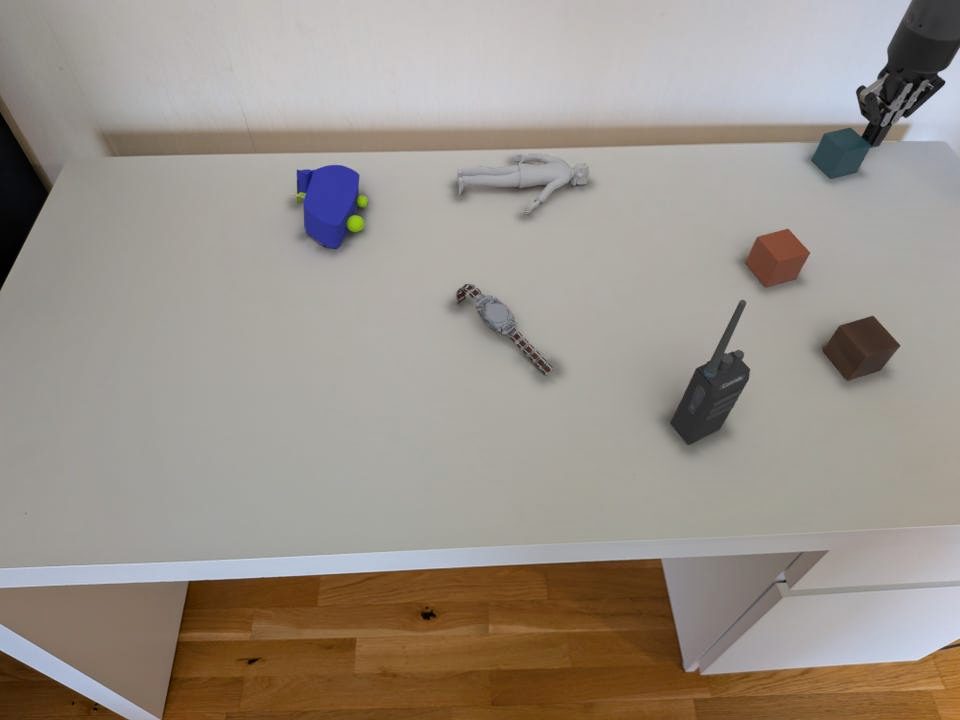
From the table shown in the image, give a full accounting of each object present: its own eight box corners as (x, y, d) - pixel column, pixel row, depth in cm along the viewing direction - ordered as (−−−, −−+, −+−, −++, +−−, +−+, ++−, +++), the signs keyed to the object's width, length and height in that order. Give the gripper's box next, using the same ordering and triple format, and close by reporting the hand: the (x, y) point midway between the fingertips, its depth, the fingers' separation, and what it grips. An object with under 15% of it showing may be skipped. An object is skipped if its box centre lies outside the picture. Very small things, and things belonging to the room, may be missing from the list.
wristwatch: (466, 291, 82) (474, 270, 78) (548, 378, 80) (561, 361, 75) (444, 307, 80) (451, 286, 76) (527, 396, 78) (539, 380, 74)
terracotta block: (775, 254, 86) (788, 228, 83) (796, 279, 84) (810, 252, 80) (744, 263, 86) (756, 236, 82) (765, 287, 83) (778, 261, 79)
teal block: (837, 154, 99) (850, 127, 95) (856, 172, 97) (871, 145, 93) (811, 160, 98) (823, 133, 95) (830, 179, 96) (844, 152, 92)
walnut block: (854, 340, 78) (873, 315, 74) (880, 370, 76) (901, 345, 72) (822, 350, 77) (839, 325, 74) (847, 381, 75) (866, 356, 71)
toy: (357, 191, 95) (288, 194, 92) (359, 159, 91) (286, 161, 88) (375, 253, 89) (301, 259, 86) (378, 222, 85) (301, 227, 82)
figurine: (461, 218, 90) (595, 211, 91) (461, 195, 87) (599, 188, 88) (455, 165, 97) (579, 160, 99) (454, 142, 94) (582, 137, 96)
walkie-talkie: (687, 448, 69) (751, 322, 53) (667, 423, 71) (723, 294, 55) (724, 430, 71) (797, 302, 55) (704, 406, 73) (768, 275, 57)
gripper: (914, 46, 79) (847, 169, 93) (1002, 28, 82) (925, 150, 96) (871, 15, 83) (814, 137, 97) (957, 0, 86) (889, 121, 100)
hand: (869, 144), depth 96 cm, fingers closed
